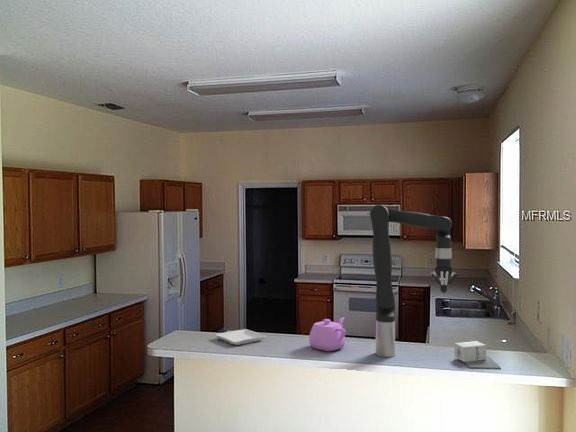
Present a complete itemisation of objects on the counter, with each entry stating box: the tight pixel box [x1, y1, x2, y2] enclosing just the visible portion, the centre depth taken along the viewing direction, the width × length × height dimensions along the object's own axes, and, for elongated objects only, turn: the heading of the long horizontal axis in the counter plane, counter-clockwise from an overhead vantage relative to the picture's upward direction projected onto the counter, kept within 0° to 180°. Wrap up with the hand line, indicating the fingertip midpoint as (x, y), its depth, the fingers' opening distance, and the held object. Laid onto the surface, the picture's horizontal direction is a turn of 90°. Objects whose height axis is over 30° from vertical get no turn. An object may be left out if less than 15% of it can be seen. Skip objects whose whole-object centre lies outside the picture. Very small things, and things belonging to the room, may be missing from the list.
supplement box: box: [454, 340, 487, 363], centre depth 235 cm, size 7×7×13 cm
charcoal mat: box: [463, 355, 502, 370], centre depth 232 cm, size 14×18×1 cm
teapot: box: [308, 316, 347, 352], centre depth 258 cm, size 23×21×15 cm
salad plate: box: [214, 328, 266, 346], centre depth 273 cm, size 21×21×3 cm
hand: (443, 292), depth 240 cm, fingers closed
